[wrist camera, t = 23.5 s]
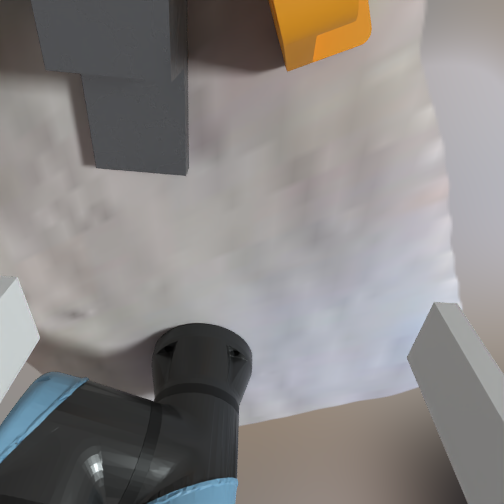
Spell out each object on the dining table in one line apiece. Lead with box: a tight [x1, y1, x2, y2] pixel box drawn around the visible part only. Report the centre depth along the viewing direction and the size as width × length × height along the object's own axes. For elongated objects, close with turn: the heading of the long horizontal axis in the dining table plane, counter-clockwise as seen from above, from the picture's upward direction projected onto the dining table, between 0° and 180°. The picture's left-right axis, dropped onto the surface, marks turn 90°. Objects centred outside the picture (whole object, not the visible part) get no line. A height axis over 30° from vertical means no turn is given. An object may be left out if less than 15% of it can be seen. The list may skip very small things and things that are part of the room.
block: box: [31, 0, 189, 176], centre depth 30 cm, size 19×9×8 cm, turn 175°
